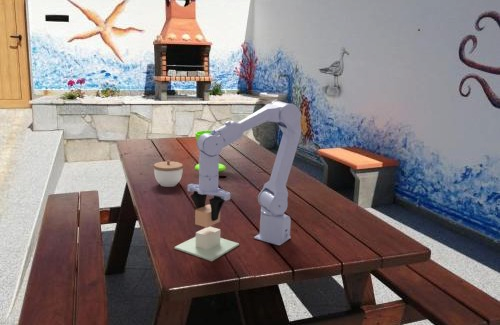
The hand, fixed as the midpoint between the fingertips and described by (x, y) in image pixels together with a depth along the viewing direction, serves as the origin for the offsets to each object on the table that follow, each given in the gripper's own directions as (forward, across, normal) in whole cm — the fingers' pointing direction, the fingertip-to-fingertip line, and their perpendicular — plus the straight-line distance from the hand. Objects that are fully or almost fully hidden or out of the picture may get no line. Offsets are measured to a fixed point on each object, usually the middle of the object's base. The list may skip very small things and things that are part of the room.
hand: (207, 218), depth 135 cm
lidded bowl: (+10, -54, +42) cm, 69 cm away
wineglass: (+10, -58, +78) cm, 98 cm away
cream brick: (+9, 0, 0) cm, 9 cm away
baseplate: (+9, 0, 0) cm, 9 cm away
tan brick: (+2, 0, 0) cm, 2 cm away
